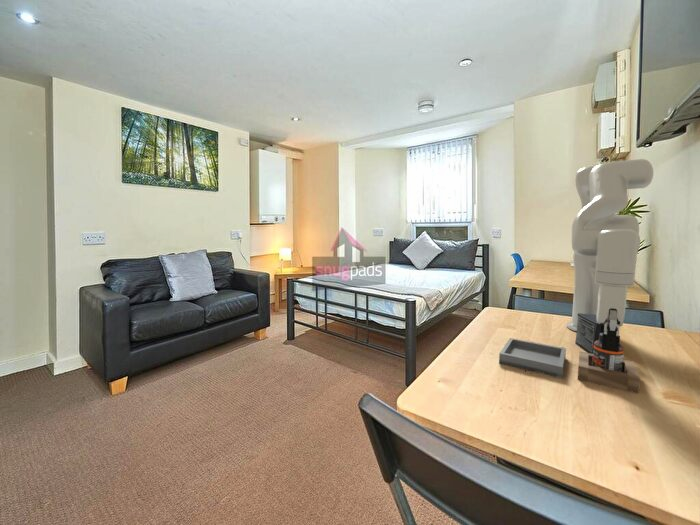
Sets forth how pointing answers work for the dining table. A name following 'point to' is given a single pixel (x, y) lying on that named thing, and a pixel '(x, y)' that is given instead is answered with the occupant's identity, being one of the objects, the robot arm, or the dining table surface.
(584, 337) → the small box
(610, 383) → the holder block
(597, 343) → the supplement bottle
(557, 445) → the dining table surface
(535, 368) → the tray
